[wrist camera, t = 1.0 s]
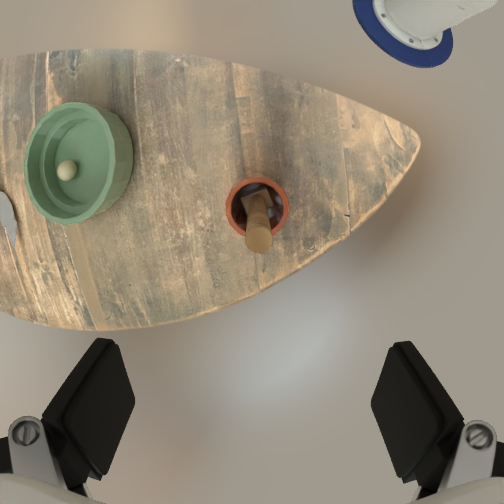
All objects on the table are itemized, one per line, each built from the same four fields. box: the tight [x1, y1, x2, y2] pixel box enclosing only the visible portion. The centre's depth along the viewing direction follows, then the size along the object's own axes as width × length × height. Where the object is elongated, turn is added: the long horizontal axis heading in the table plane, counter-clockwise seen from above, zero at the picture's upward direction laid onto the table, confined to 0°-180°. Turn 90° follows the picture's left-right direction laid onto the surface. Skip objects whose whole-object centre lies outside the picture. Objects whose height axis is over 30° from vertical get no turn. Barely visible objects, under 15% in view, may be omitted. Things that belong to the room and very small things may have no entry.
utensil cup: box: [226, 172, 289, 236], centre depth 31 cm, size 6×6×10 cm
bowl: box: [24, 102, 134, 225], centre depth 31 cm, size 16×16×6 cm
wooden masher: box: [241, 184, 273, 254], centre depth 26 cm, size 3×2×20 cm, turn 111°
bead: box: [57, 160, 77, 181], centre depth 33 cm, size 3×3×3 cm
